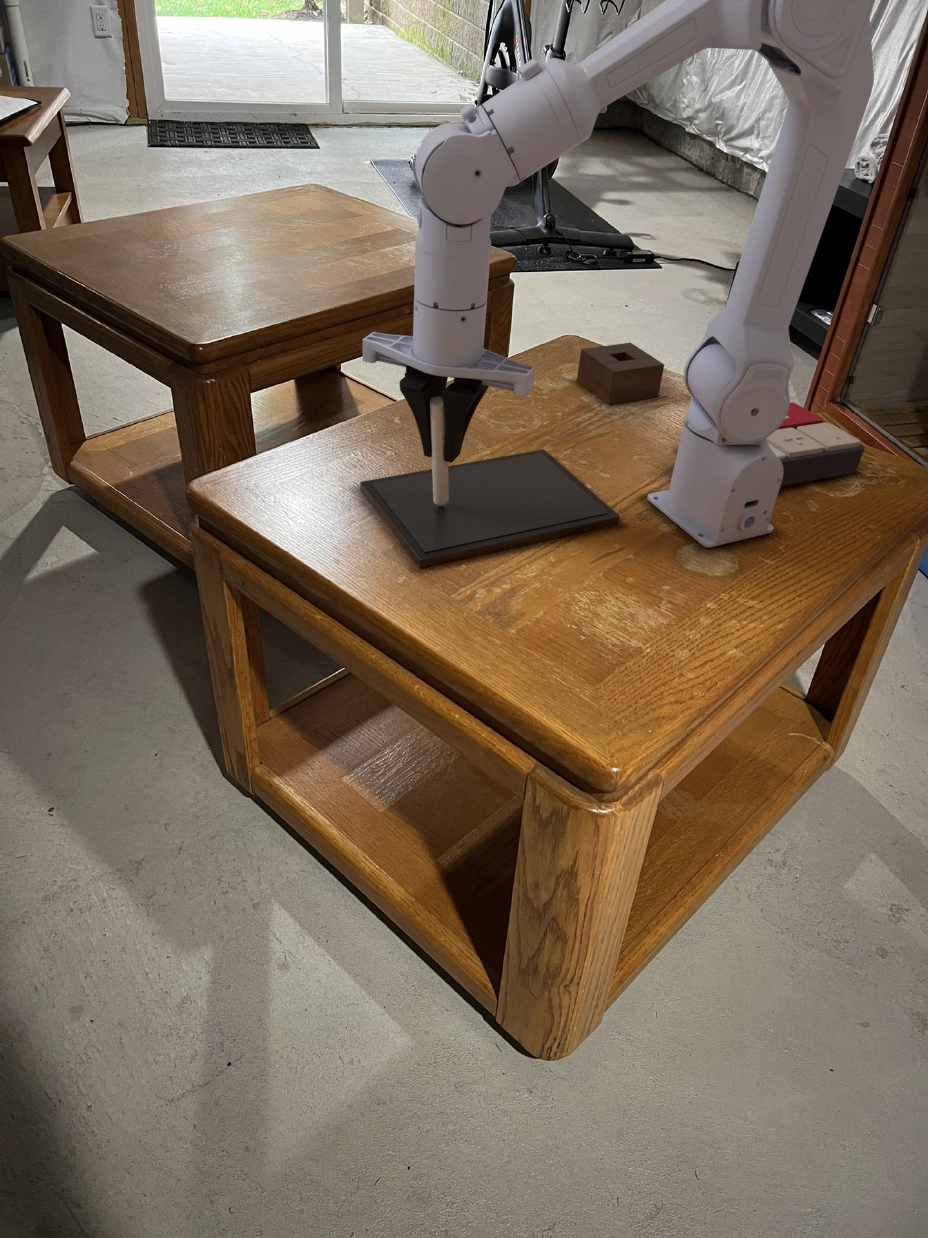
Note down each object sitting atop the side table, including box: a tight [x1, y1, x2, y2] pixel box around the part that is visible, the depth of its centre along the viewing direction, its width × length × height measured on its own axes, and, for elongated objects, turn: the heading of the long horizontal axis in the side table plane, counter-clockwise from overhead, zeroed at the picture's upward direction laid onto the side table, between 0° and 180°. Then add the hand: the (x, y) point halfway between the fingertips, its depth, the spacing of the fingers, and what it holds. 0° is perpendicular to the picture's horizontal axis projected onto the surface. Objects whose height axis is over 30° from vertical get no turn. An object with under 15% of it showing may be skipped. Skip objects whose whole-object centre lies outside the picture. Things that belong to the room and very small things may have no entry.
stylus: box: [430, 397, 449, 507], centre depth 81 cm, size 1×1×11 cm
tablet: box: [359, 448, 621, 569], centre depth 87 cm, size 14×20×1 cm
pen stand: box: [576, 342, 665, 406], centre depth 109 cm, size 7×7×4 cm
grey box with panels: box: [767, 401, 866, 489], centre depth 97 cm, size 11×4×15 cm
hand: (442, 454), depth 81 cm, fingers closed on stylus, 1 cm apart
